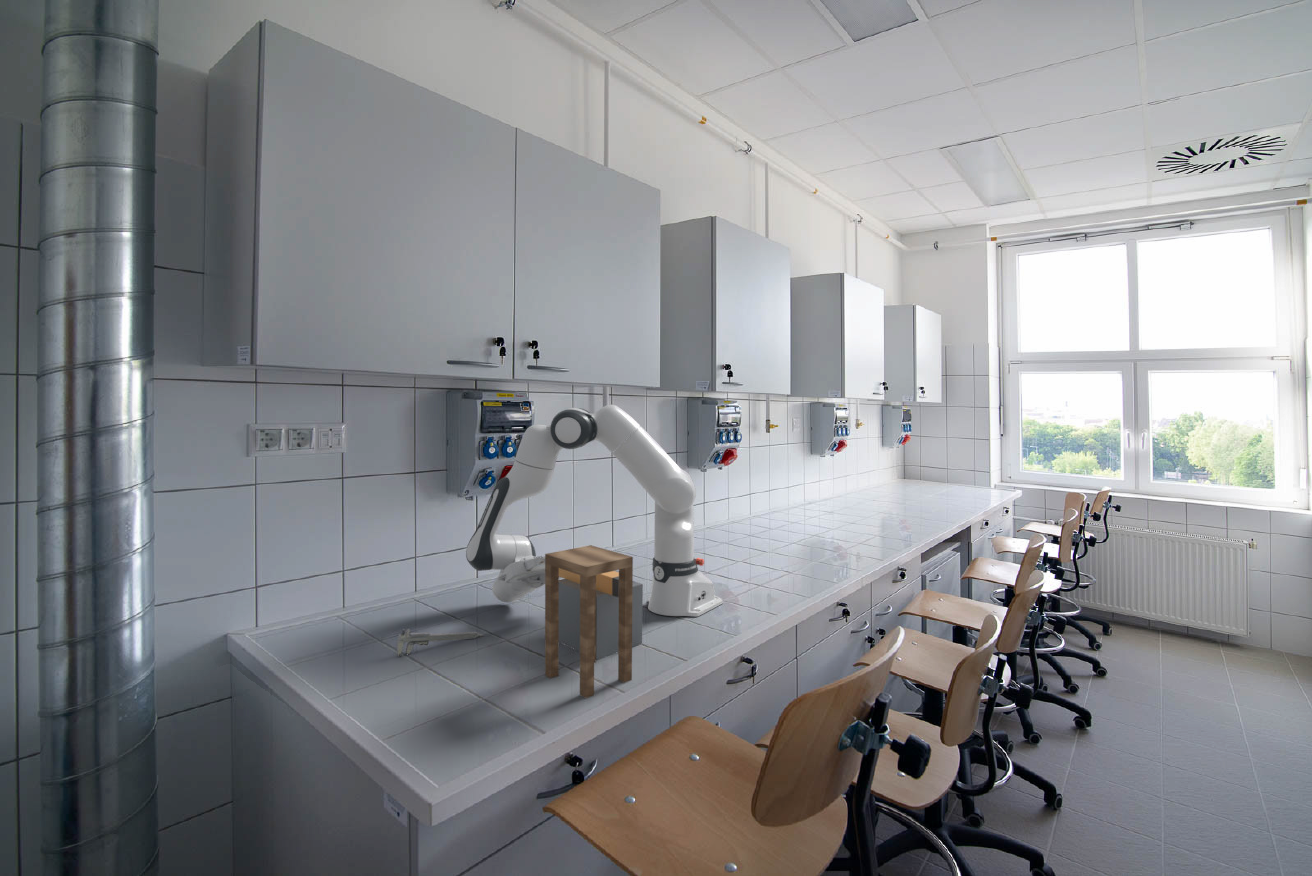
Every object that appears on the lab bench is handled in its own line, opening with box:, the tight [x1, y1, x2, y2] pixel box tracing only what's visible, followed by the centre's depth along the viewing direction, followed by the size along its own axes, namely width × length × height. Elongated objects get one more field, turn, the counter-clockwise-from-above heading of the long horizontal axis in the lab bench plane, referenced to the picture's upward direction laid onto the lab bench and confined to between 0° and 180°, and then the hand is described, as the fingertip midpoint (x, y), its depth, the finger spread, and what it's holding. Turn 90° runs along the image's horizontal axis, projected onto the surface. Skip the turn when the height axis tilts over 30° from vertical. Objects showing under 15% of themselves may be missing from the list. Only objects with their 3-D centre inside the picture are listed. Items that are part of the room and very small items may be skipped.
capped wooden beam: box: [559, 568, 619, 597], centre depth 150 cm, size 4×24×4 cm, turn 44°
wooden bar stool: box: [544, 544, 634, 699], centre depth 132 cm, size 12×14×26 cm
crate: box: [559, 578, 644, 661], centre depth 152 cm, size 14×16×14 cm
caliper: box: [396, 628, 484, 657], centre depth 149 cm, size 20×1×6 cm, turn 131°
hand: (556, 556), depth 160 cm, fingers open, 8 cm apart
